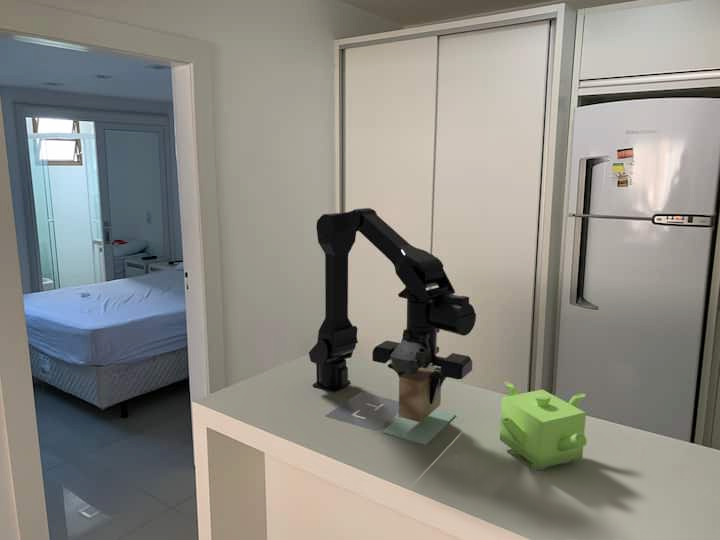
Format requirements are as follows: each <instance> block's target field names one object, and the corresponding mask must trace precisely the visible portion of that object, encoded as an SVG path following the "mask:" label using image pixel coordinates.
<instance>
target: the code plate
mask: <svg viewBox="0 0 720 540" xmlns="http://www.w3.org/2000/svg"><path fill="white" fill-rule="evenodd" d="M398 414H399V400H395V399H392V398H389V397H388V398H387V397H383V396H379V395H376V394H375V395H374V394H371V393H367V392H363V391H361V392H359V393H357V394H356V395H354V396H352V397H351V398H350V399H348V400H346V401H345V402H344V403H342V404H341V405H339V406H338V407H336V408H334V409H333V410H331V411H330V412H329V413H327V414H326V415H325V416H324V417H326V418H330V419H333V420H336V421H340V422H344V423H348V424H351V425H354V426H358V427H361V428H365V429H369V430H370V431H378V430H379V429H380V428H381V427H383V426H384V425H385V424H387V423H388V422H389V421H391V419H393V418H394V417H395V416H397V415H398Z"/></svg>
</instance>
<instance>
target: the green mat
mask: <svg viewBox="0 0 720 540" xmlns="http://www.w3.org/2000/svg"><path fill="white" fill-rule="evenodd" d="M456 415H457V414H456V413H453V412H449V411H445V410H442V409H438V408H436V409H435V410H434V411H433V412H432V413H431V414H430V415H428V416H427V417H426V418H425V419H424V420H423V421H422V422H421V423H420V422H417V421H413V420H409V419H405V418H402V417H399V416H398V418H397V419H396V420H395V421H394V422H392V423H390V425H388V426H387V427H386V428H385V429H384V430H382V434H385V435H388V436H392V437H396V438H398V439H399V438H400V439H403V440H406V441H410V442H412V443H413V442H414V443H416V444H420V445H423V446H426V445H428V444H429V443H430V442H431V441H432V440H433V439H434V438H435V437H436V436H437V435H438V434H439V433H440V432H441V431H442V430H443V429H444V428H445V427H446V426H447V425H448V424H449V423H450V422H451V421H452V420H453V419H454V418H455V417H456Z"/></svg>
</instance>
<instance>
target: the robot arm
mask: <svg viewBox="0 0 720 540" xmlns="http://www.w3.org/2000/svg"><path fill="white" fill-rule="evenodd" d="M315 226H316V235H317V243H318V244H319V246H320V248H321V249H322V251H323V253H324V256H325V258H324V262H325V263H324V266H325V269H324V271H325V273H324V274H325V275H324V276H325V280H324V281H325V283H324V284H325V286H324V287H325V293H324V294H325V295H324V296H325V298H324V299H325V316H324V320H323V322H322V323H321V325H320V327H319V329H318V333H317V340H316V342H317V343H315V345H314V346H313V347H312V348H311V349H310V350H309V352H308V355H309V360H310V362H311V363H313V364H316V365H315V367H316V382H314V383H313V384H312V387H313V388H317V389H319V390H320V389H321V390H324V391H328V392H332V393H337V392H338V391H340V390H342V389H343V388H345V387H347V386H348V385H349V384H351V380H349V370H348V369H349V368H348V366H347V359H351V358H352V357H353V353H354V350H355V349H356V348H357V347H356V345H357V344H359V342H358V327H357V325H353V324H352V322H351V321H350V320H351V319H349V254H350V251H351V250H352V248H353V246H354V244H355V242H356V237H357V232H359V233H360V234H361V235H362V236H363V237H364V238H366V239H367V240H368V241H369V242H370V244H372V245H373V246H374V247H375V248H376V249H377V250H378V251H379V252H381V254H382V255H384V256H385V257H386V258H387V259H388V260H389V261H390V262H391V263H392V264H393V266H394V269H395V270H394V271H395V274H396V276H397V278H398V279H400V281H401V283H402V284H403V285H404V286H405V287H404V289H402V290H401V291H399V293H398V294H397V296H398V297H399V298H402V299H405V300H406V328H404V329H403V333H402V339H401V342H396V341H391V340H385V341H383V342H382V343H380V344H378V345H376V346H375V347H374V348H373V349H372V354H371V355H372V357H371V358H372V361H373V362H376V363H380V364H386V363H388V362H389V363H388V364H387V367H388V369H392V370H393V371H394V372H395V373H396V374H397V376H398V378H399V377H400V376H402V375H403V374H404V373H408V374H415V373H417V371H418V369H420V368H427V367H428V366H429V365H431V366H434V371H433V372H432V373H431V374H429V377H430V379H431V387H430V404H433V403H434V402H435V399H436V397H437V395H438V393H439V390H440V388H441V389H442V387H443V383H444V382H445V380H446V379H447V378H450V379H454V380H463V379H465V377H466V376H467V375H468V374H470V373H471V372H472V371H473V360H472V359H471V357H470V355H464V354H460V353H456V352H454V353H453V352H451V354H449V355H447V356H446V357H443V356H438V355H437V354H439V352H440V346H437V345H438V344H437V342H438V341H437V340H438V339H437V338H438V335H437V334H438V333H440V331H444V332H449V333H453V334H456V335H458V336H467V335H469V334H470V333H471V332H472V330H473V329H474V327H475V324H476V319H477V314H476V312H475V307H474V306H473V305H472V304H471V303H470V297H469V296H466V295H456V294H455V292H456V291H455V289H454V287H453V285H452V282H451V281H450V279H449V277H448V275H447V273H446V272H445V269H444V264H443V262H442V261H441V259H439V258H438V257H437V256H435V255H434V254H432V253H430V252H429V251H426V250H424V249H421V248H418V247H415V246H413V245H412V244H410V243H409V241H407V240H406V239H404V238H403V236H401V235H400V234H399V233H398V232H397V231H396V230H395V229H393V228H392V227H391V226H390V225H389V224H388V223H387V222H386V221H384V219H382V218H381V217H380V216H379V215H378V214H377V212H376V210H375V209H372V208H371V207H364V208H355V209H353V210H350V211H348V212H347V211H345V212H344V211H343V212H334V213H324V214H322V215H321V216H320V217H319V218H318V219H317V220H316V225H315ZM428 288H429V289H428ZM430 288H431V289H430Z"/></svg>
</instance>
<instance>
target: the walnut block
mask: <svg viewBox="0 0 720 540" xmlns="http://www.w3.org/2000/svg"><path fill="white" fill-rule="evenodd" d="M433 371H434V366H431V365H429V366H428V367H427V368H420V369H418V371H417V373H415V374H408V373H404V374H403V375H402V376H400V377H399V376H398V378H399V379H398V380H399V381H398V401H399V413H398V418H399V417H402V418H405V419H409V420H413V421H417V422H420V423H421V422H422V421H423V420H424V419H425V418H426V417H427V416H428V415H430V414H431V413H432V412H433V411H434V410H435V409H438V408H439V406H441V401H442V400H441V399H442V398H441V397H442V387H441V388H440V390H439V393H438V395H437V397H436V399H435V402H434V403H433V404H430V387H431V379H430V377H429V374H431V373H432V372H433Z"/></svg>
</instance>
